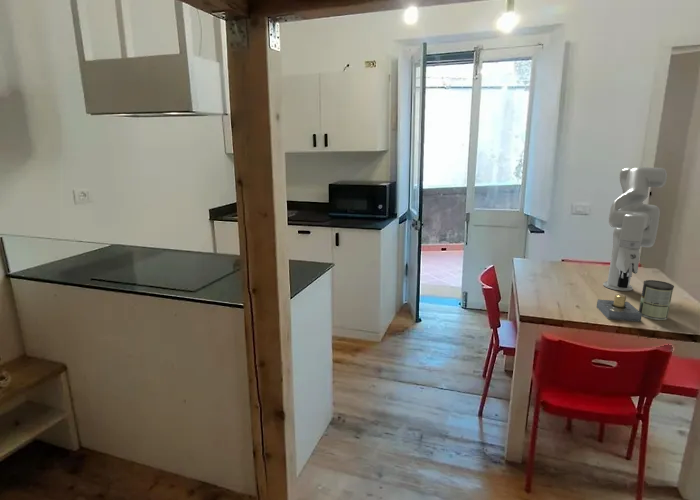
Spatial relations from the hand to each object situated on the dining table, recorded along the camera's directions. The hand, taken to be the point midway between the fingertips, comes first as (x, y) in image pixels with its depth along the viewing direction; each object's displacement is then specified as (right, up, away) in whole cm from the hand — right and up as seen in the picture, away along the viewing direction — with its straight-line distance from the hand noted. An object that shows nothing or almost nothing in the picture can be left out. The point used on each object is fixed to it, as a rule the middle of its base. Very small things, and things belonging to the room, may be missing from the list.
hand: (622, 287), depth 177 cm
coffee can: (+14, -12, +2) cm, 19 cm away
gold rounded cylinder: (0, -12, +3) cm, 12 cm away
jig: (0, -12, +3) cm, 12 cm away
